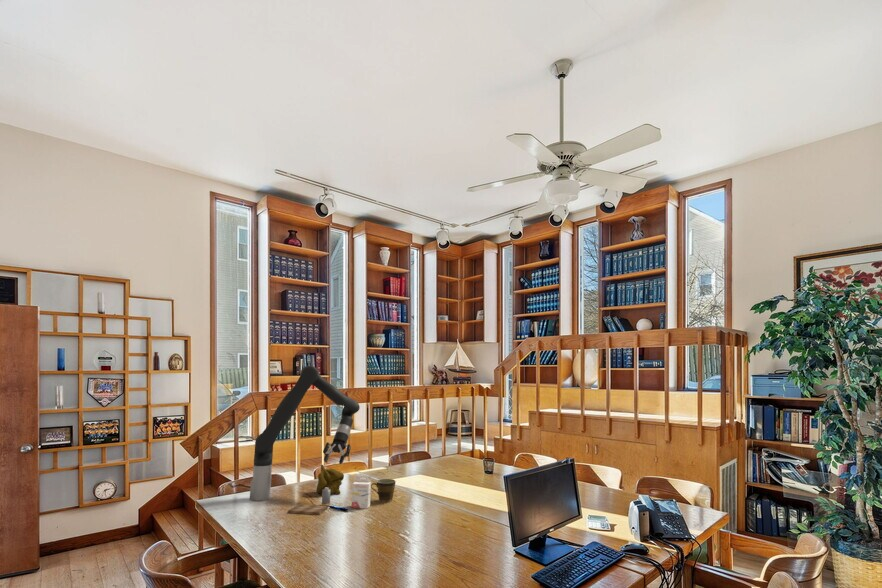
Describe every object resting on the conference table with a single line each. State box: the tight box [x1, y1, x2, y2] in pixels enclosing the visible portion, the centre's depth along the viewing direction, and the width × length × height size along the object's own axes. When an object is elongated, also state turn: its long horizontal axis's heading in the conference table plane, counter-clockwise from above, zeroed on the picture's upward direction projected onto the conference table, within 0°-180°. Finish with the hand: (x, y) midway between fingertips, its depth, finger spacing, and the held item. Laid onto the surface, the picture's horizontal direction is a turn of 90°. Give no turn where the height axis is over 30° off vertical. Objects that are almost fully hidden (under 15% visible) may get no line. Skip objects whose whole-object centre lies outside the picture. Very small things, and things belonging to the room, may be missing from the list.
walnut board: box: [287, 503, 329, 516], centre depth 231 cm, size 16×10×1 cm, turn 82°
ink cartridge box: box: [351, 474, 372, 509], centre depth 240 cm, size 9×5×15 cm, turn 84°
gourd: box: [315, 464, 345, 495], centre depth 264 cm, size 14×14×14 cm
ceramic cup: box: [371, 478, 397, 504], centre depth 250 cm, size 13×10×10 cm
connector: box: [321, 487, 331, 507], centre depth 241 cm, size 4×4×9 cm
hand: (332, 462), depth 252 cm, fingers open, 8 cm apart
